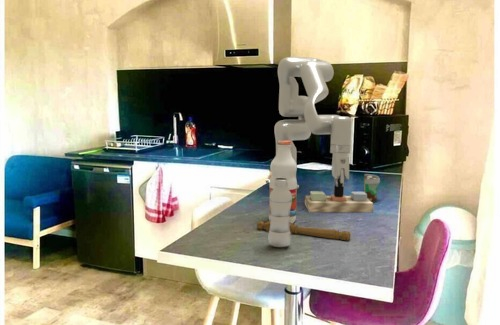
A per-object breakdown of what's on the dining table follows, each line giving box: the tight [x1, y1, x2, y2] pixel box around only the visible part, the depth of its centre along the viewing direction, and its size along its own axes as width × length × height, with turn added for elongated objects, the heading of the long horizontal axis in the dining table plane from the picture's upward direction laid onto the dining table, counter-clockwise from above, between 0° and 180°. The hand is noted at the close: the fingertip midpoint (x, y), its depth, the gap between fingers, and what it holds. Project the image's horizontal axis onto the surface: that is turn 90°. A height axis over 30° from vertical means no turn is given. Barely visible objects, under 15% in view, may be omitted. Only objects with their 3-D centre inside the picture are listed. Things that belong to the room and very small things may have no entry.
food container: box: [363, 173, 381, 203], centre depth 189 cm, size 12×6×10 cm, turn 168°
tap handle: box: [256, 220, 351, 242], centre depth 144 cm, size 3×3×30 cm
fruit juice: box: [268, 140, 298, 224], centre depth 156 cm, size 9×9×28 cm
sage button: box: [309, 190, 326, 201], centre depth 175 cm, size 5×5×4 cm
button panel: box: [304, 195, 374, 214], centre depth 176 cm, size 24×12×4 cm, turn 91°
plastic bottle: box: [267, 178, 292, 248], centre depth 131 cm, size 6×7×20 cm
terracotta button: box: [330, 194, 346, 201], centre depth 176 cm, size 5×5×4 cm
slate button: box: [350, 191, 367, 201], centre depth 176 cm, size 5×5×4 cm
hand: (338, 196), depth 175 cm, fingers closed
